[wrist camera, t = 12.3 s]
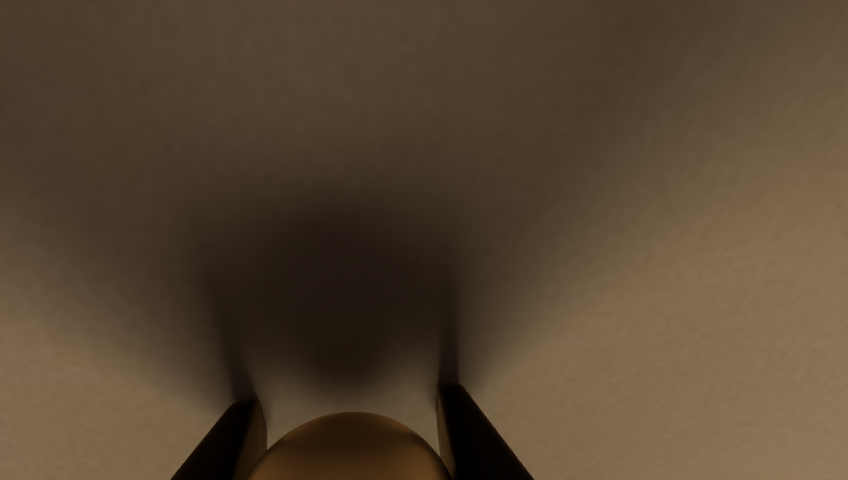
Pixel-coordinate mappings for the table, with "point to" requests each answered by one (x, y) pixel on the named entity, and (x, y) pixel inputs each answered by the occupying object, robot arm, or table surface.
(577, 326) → the table surface
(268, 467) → the power lever
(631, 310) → the table surface
